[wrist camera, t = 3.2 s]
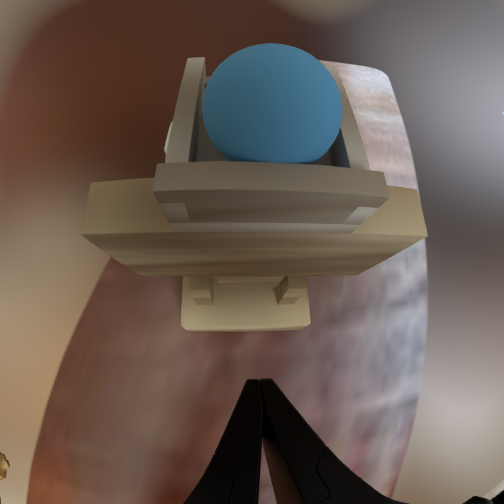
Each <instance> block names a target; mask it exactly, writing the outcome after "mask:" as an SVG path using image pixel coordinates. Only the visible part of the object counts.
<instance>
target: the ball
mask: <svg viewBox="0 0 504 504" xmlns="http://www.w3.org/2000/svg"><path fill="white" fill-rule="evenodd" d="M202 113H203V119H204V125H205V127H206V130H207V133H208V135H209V137H210V139H211V140H212V142H213V144H214V145H215V147H216V148H217V149H218V150H219V151H220V152H221V153H222V154H223V155H224V156H225V157H226V158H227V159H229V160H230V161H242V162H277V163H296V164H313V163H314V162H316V161H317V160H319V159H320V158H321V157H322V156H323V155H324V154H325V153H326V152H327V151H328V150H329V148H330V147H331V145H332V144H333V143H334V141H335V139H336V137H337V135H338V132H339V130H340V126H341V122H342V113H343V108H342V99H341V95H340V91H339V89H338V86H337V84H336V82H335V80H334V78H333V77H332V75H331V73H330V72H329V71H328V70H327V68H326V67H325V66H324V65H323V64H322V63H321V62H320V61H318V60H317V59H316V58H315V57H313V56H312V55H310V54H308V53H307V52H305V51H303V50H300V49H298V48H295V47H292V46H288V45H283V44H260V45H254V46H250V47H247V48H245V49H242V50H240V51H238V52H236V53H234V54H233V55H231V56H230V57H228V58H227V59H226V60H225V61H223V62H222V63H221V64H220V65H219V66H218V67H217V69H216V70H215V71H214V73H213V74H212V76H211V77H210V79H209V81H208V83H207V86H206V89H205V92H204V96H203V104H202Z"/></svg>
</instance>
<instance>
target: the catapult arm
mask: <svg viewBox="0 0 504 504" xmlns="http://www.w3.org/2000/svg"><path fill="white" fill-rule="evenodd" d="M324 66H325V67H326V68H327V70H328V71H329V72H330V73H331V75H332V77H333V78H334V80H335V82H336V84H337V86H338V89H339V91H340V95H341V99H342V108H343V113H342V122H341V126H340V130H339V132H338V135H337V137H336V139H335V141H334V143H333V144H332V145H331V147H330V148H329V150H328V151H327V152H326V153H325V154H324V155H323V156H322V157H321V158H320V159H319V160H317V161H316V162H314V163H313V164H296V163H277V162H242V161H230V160H229V159H227V158H226V157H225V156H224V155H223V154H222V153H221V152H220V151H219V150H218V149H217V148H216V147H215V145H214V144H213V142H212V140H211V139H210V137H209V135H208V133H207V130H206V127H205V125H204V119H203V113H202V104H203V96H204V92H205V89H206V86H207V83H208V81H209V79H210V77H211V76H209V77H206V73H205V58H204V57H203V58H188V60H187V64H186V68H185V71H184V75H183V79H182V83H181V87H180V91H179V95H178V99H177V104H176V108H175V112H174V117H173V122H172V127H171V132H170V137H169V142H168V148H167V153H166V159H165V163H158V164H157V167H156V173H155V178H141V179H127V180H115V181H104V182H94V183H91V187H90V191H89V195H88V200H87V204H86V208H85V214H84V218H83V223H82V229H81V235H82V236H84V237H85V238H86V239H88V240H89V241H91V242H92V243H93V244H95V245H96V246H97V247H99V248H100V249H102V250H103V251H105V252H106V253H107V254H109V255H110V256H111V257H113V258H114V259H116V260H117V261H119V262H120V263H122V264H123V265H125V266H126V267H127V268H129V269H130V270H132V271H133V272H135V273H136V274H138V275H139V276H179V277H217V280H218V283H219V287H220V288H260V287H276V286H277V285H278V284H279V283H280V282H281V281H282V279H283V278H284V277H285V276H328V275H358V274H359V273H361V272H363V271H365V270H367V269H369V268H371V267H373V266H375V265H377V264H379V263H380V262H382V261H384V260H386V259H388V258H390V257H392V256H393V255H395V254H397V253H399V252H401V251H402V250H404V249H406V248H408V247H410V246H411V245H413V244H415V243H417V242H418V241H420V240H422V239H423V238H425V237H427V236H428V235H427V231H426V226H425V221H424V217H423V213H422V209H421V205H420V201H419V197H418V193H417V190H416V189H411V188H404V187H396V186H388V185H386V181H385V177H384V173H383V172H379V171H371V170H370V168H369V164H368V160H367V157H366V153H365V150H364V146H363V143H362V139H361V136H360V133H359V130H358V126H357V123H356V120H355V117H354V114H353V111H352V108H351V105H350V103H349V100H348V97H347V94H346V92H345V89H344V86H343V84H342V81H341V79H340V76H339V74H338V71H337V69H336V67H333V66H328V65H324Z"/></svg>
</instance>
